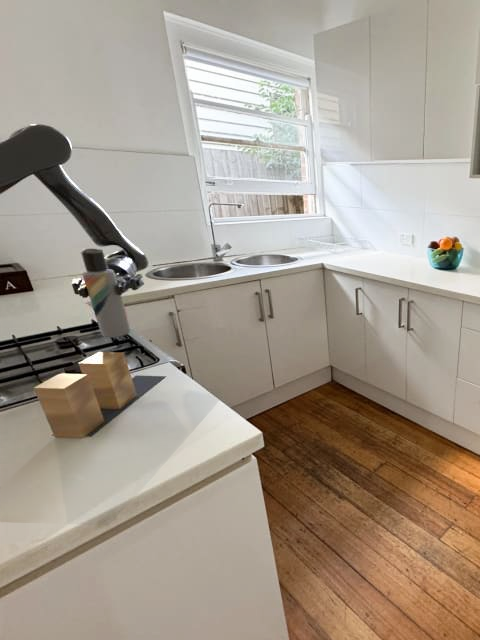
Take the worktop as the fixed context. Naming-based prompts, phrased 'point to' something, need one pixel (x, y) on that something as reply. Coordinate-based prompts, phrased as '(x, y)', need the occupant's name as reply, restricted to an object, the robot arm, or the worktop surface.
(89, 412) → the oak block
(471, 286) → the worktop surface
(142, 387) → the mat
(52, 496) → the worktop surface
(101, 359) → the oak block
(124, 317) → the lotion bottle
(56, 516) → the worktop surface
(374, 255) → the worktop surface
